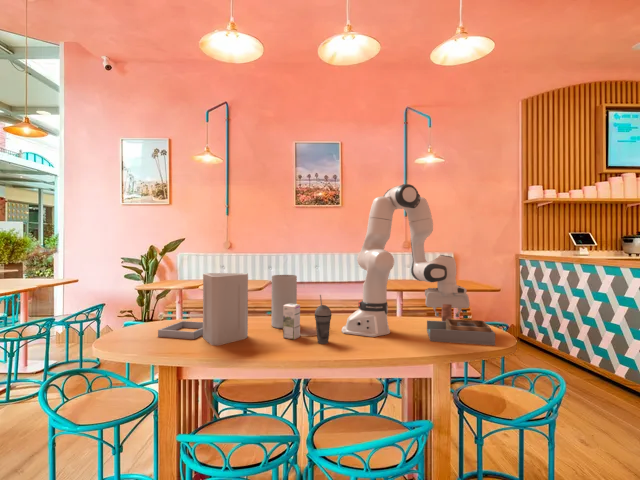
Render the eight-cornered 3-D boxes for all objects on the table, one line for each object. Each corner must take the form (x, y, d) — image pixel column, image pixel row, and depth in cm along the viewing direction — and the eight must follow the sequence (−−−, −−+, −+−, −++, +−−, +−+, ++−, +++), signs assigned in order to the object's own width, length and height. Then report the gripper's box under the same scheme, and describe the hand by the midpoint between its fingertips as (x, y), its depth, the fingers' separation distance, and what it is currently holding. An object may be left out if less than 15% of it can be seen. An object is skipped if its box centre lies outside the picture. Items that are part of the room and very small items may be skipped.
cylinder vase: (295, 329, 167) (295, 277, 167) (269, 328, 167) (269, 277, 167) (297, 322, 179) (297, 274, 179) (273, 322, 179) (273, 274, 179)
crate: (450, 338, 147) (450, 326, 147) (445, 330, 161) (445, 318, 161) (490, 341, 143) (490, 328, 143) (482, 332, 157) (482, 320, 157)
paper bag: (192, 344, 141) (192, 276, 141) (206, 334, 156) (207, 272, 156) (237, 346, 139) (238, 276, 140) (248, 335, 154) (248, 273, 154)
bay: (430, 341, 147) (430, 329, 147) (426, 330, 164) (426, 320, 164) (495, 345, 141) (495, 333, 141) (484, 334, 158) (485, 323, 158)
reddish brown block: (442, 329, 168) (442, 304, 168) (441, 327, 171) (441, 302, 171) (451, 329, 167) (451, 304, 167) (450, 327, 171) (450, 303, 171)
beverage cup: (330, 345, 141) (330, 296, 141) (312, 344, 142) (312, 295, 142) (332, 340, 148) (333, 293, 148) (316, 339, 149) (316, 293, 149)
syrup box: (300, 336, 154) (300, 303, 154) (294, 339, 148) (294, 306, 148) (289, 334, 156) (289, 302, 156) (282, 338, 151) (282, 305, 151)
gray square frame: (158, 336, 152) (158, 329, 152) (182, 326, 170) (182, 320, 170) (193, 339, 149) (193, 332, 149) (214, 329, 166) (214, 322, 166)
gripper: (425, 288, 168) (425, 317, 168) (470, 289, 164) (470, 318, 164) (424, 286, 174) (424, 314, 174) (467, 287, 170) (467, 315, 170)
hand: (447, 316), depth 169 cm, fingers open, 8 cm apart
